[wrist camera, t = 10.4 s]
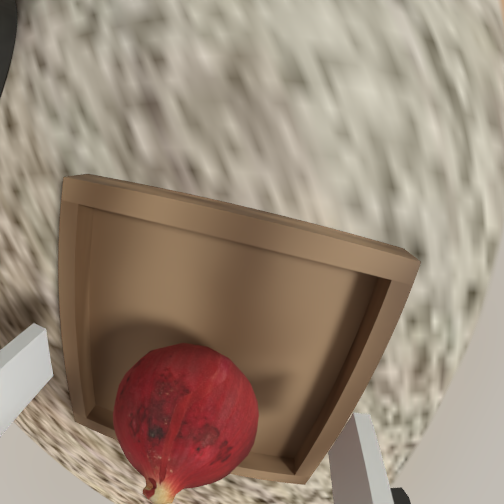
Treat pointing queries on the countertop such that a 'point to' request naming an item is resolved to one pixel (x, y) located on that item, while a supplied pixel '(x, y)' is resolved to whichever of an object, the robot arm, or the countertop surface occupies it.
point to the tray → (225, 308)
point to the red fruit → (184, 418)
